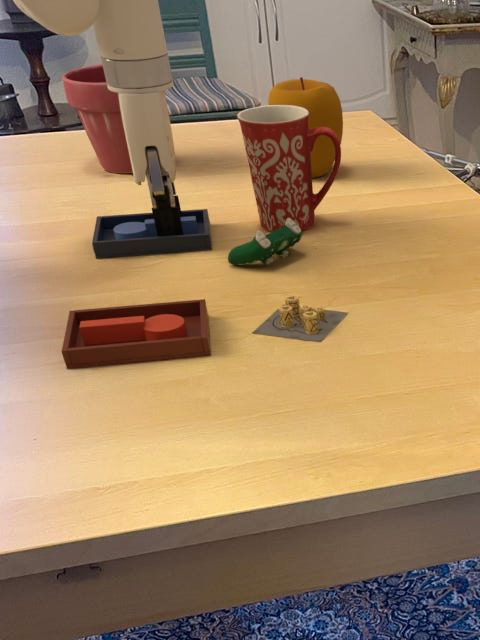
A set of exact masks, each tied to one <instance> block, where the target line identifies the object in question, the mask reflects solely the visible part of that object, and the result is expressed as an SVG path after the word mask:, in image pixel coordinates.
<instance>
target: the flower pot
mask: <svg viewBox="0 0 480 640" xmlns="http://www.w3.org/2000/svg"><path fill="white" fill-rule="evenodd" d="M61 80H62V85H63V88H64V93H65V97H66V100H67V103H68V105H69V107H72V108H73V109H75V110H76V113H77V114H78V117H79V120H80V122H81V124H82V126H83V129H84V130H85V133H86V135H87V137H88V140H89V142H90V144H91V146H92V148H93V151H94V153H95V154H96V157H97V159H98V161H99V164H100V165H101V168H102V169H103V170H104V171H106V172H108V173H115V174H133V170H132V165H131V160H130V155H129V150H128V146H127V141H126V136H125V131H124V126H123V121H122V116H121V110H120V104H119V96H118V93H117V92H112V91H110V90H109V89H108V87H107V82H106V78H105V74H104V69H103V65H102V64H95V65H89V66H84V67H79V68H75V69H71V70H69V71H66V72H64V73H63V74H62V76H61ZM164 91H165V92H166V90H164Z"/></svg>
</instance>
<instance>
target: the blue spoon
mask: <svg viewBox="0 0 480 640" xmlns="http://www.w3.org/2000/svg"><path fill="white" fill-rule="evenodd" d="M180 218H181V223H182V228H183V234H184V235H188V234H199V233H198V226H197V221H196V216H190V217H180ZM113 230H114V234H115V238H116V240H120V239H133V238H147V237H158V236H157V231H156V226H155V222H154V219H147V220H145V223H142V222H127V223H123V224H119V225H117V226H115V227H114V229H113Z"/></svg>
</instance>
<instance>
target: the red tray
mask: <svg viewBox="0 0 480 640" xmlns="http://www.w3.org/2000/svg"><path fill="white" fill-rule="evenodd" d="M163 314H172V315H178V316H180V317H182V318H183V319H184V321H185V325H186V330H187V335H186V336H185V337H184V338H174V339H163V340H152V341H147V340H140V341H129V342H119V343H108V344H97V345H86V346H85V345H84V342H83V338H82V335H81V331H80V328H79V327H80V322H81V321H89V320H100V319H112V318H123V317H134V316H144V317H145V320H146V319H148V318H150V317H153V316H156V315H163ZM210 336H211V335H210V320H209V313H208V306H207V301H206V299H205V298H202V299H201V298H200V299H190V300H178V301H166V302H155V303H143V304H131V305H119V306H110V307H109V306H108V307H98V308H97V307H96V308H86V309H84V308H83V309H74V310H69V313H68V317H67V322H66V328H65V332H64V338H63V342H62V346H61V355H62V357H63V360H64V361H63V362H64V364H65V368H66V369H67V370H69V369H80V368H87V367H88V368H89V367H91V368H92V367H99V366H100V367H101V366H111V365H121V364H131V363H143V362H153V361H162V360H163V361H164V360H173V359H184V358H194V357H205V356H211V355H212V351H211V338H210Z"/></svg>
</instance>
